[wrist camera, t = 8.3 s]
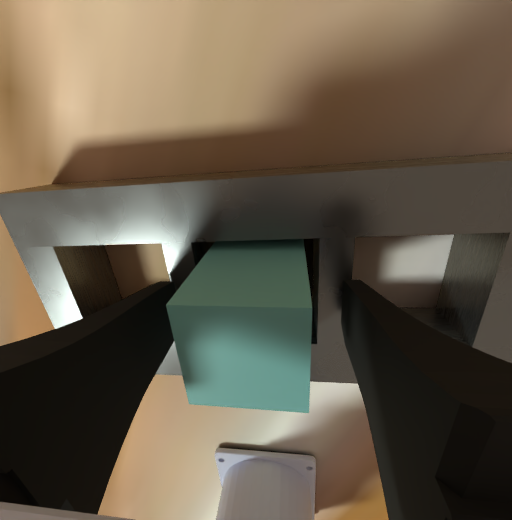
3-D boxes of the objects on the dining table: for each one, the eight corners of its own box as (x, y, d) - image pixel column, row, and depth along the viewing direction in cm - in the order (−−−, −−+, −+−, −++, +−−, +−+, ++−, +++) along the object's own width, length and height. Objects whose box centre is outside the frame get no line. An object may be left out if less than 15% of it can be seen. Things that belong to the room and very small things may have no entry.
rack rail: (464, 344, 15) (504, 390, 12) (108, 335, 18) (74, 370, 15) (525, 151, 11) (606, 154, 8) (50, 184, 14) (-9, 194, 11)
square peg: (301, 296, 15) (308, 412, 8) (231, 295, 15) (189, 404, 9) (301, 227, 13) (312, 308, 7) (224, 229, 14) (165, 304, 7)
